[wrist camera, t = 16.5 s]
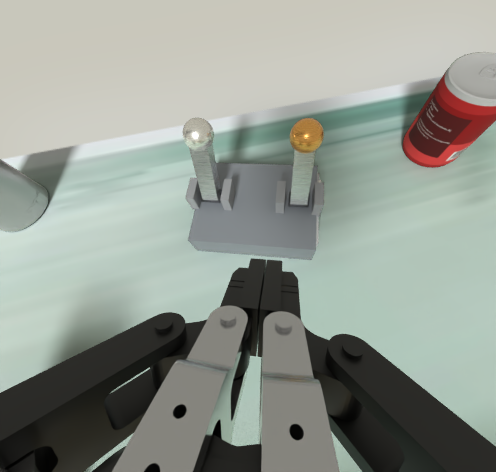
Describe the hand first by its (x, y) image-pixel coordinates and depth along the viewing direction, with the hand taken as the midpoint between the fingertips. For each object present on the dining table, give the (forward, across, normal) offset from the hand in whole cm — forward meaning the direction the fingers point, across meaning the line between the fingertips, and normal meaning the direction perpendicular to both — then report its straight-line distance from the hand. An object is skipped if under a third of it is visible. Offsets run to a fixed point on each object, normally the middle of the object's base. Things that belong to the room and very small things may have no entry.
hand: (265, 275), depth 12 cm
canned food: (+32, -22, -4) cm, 39 cm away
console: (+23, +3, +5) cm, 23 cm away
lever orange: (+19, -3, +1) cm, 19 cm away
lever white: (+19, +8, +1) cm, 21 cm away
